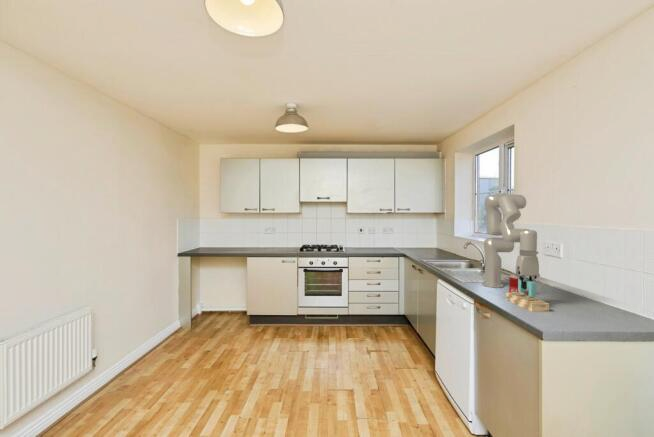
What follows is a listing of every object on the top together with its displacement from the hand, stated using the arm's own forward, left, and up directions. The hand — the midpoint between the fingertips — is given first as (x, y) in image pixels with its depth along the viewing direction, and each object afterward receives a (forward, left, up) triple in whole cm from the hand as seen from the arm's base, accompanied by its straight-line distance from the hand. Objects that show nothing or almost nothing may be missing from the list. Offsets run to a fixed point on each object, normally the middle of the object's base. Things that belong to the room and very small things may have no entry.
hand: (527, 288), depth 164 cm
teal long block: (0, 0, -3) cm, 3 cm away
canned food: (-20, +9, -9) cm, 24 cm away
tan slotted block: (0, 0, -9) cm, 9 cm away
